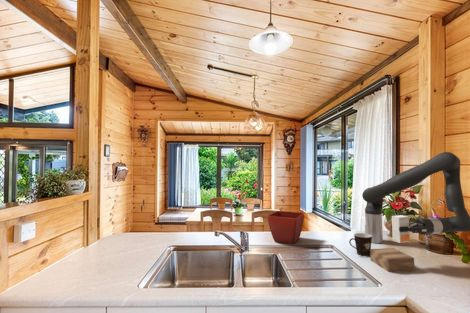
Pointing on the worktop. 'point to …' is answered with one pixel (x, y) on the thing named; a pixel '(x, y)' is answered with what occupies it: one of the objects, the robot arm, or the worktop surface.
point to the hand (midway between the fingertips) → (395, 228)
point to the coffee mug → (362, 243)
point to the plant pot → (286, 226)
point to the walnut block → (392, 260)
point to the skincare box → (396, 223)
